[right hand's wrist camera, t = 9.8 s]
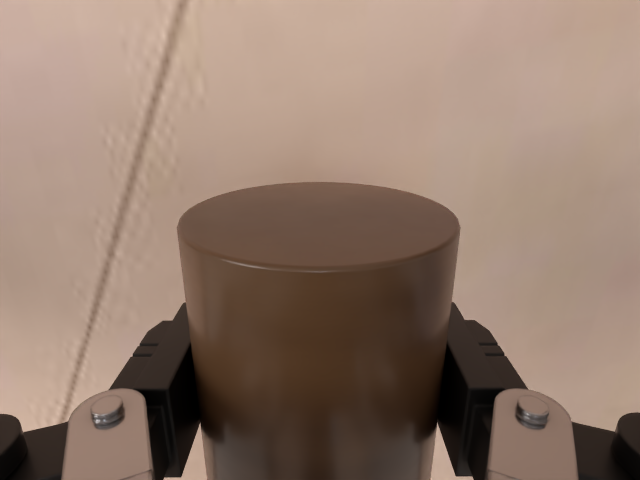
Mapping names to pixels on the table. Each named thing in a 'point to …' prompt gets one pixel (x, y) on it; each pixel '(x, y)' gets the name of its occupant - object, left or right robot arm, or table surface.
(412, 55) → the table surface
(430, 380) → the rod
